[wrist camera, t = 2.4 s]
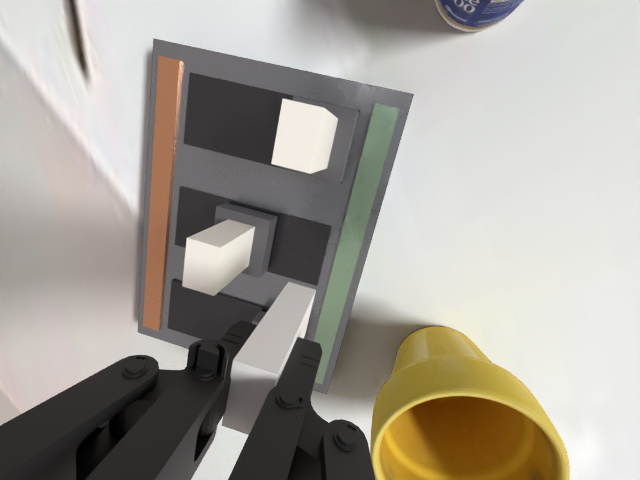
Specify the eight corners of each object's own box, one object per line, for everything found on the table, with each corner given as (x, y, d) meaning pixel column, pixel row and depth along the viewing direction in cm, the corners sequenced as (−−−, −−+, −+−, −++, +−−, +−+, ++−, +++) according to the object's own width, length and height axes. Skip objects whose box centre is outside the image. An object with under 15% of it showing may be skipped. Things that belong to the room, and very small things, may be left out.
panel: (171, 47, 24) (151, 37, 21) (410, 99, 22) (414, 93, 19) (152, 321, 31) (136, 333, 29) (330, 378, 29) (326, 395, 27)
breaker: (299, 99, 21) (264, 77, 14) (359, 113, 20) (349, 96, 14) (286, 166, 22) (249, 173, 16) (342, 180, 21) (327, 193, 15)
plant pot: (350, 336, 27) (335, 431, 18) (464, 282, 24) (516, 362, 15) (411, 426, 29) (426, 557, 19) (526, 385, 26) (609, 518, 16)
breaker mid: (226, 202, 23) (171, 221, 17) (277, 216, 23) (239, 240, 17) (219, 256, 25) (165, 292, 19) (267, 270, 24) (228, 311, 18)
